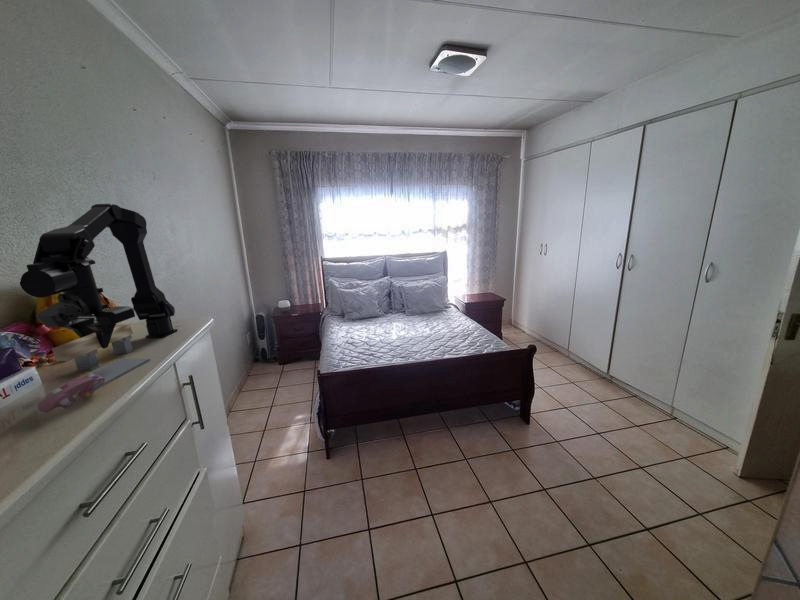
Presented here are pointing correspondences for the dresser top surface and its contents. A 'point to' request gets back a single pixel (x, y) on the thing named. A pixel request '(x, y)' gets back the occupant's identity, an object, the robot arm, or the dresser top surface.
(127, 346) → the metal standards
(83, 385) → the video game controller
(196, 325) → the dresser top surface
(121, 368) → the slate mat
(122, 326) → the birch rail
